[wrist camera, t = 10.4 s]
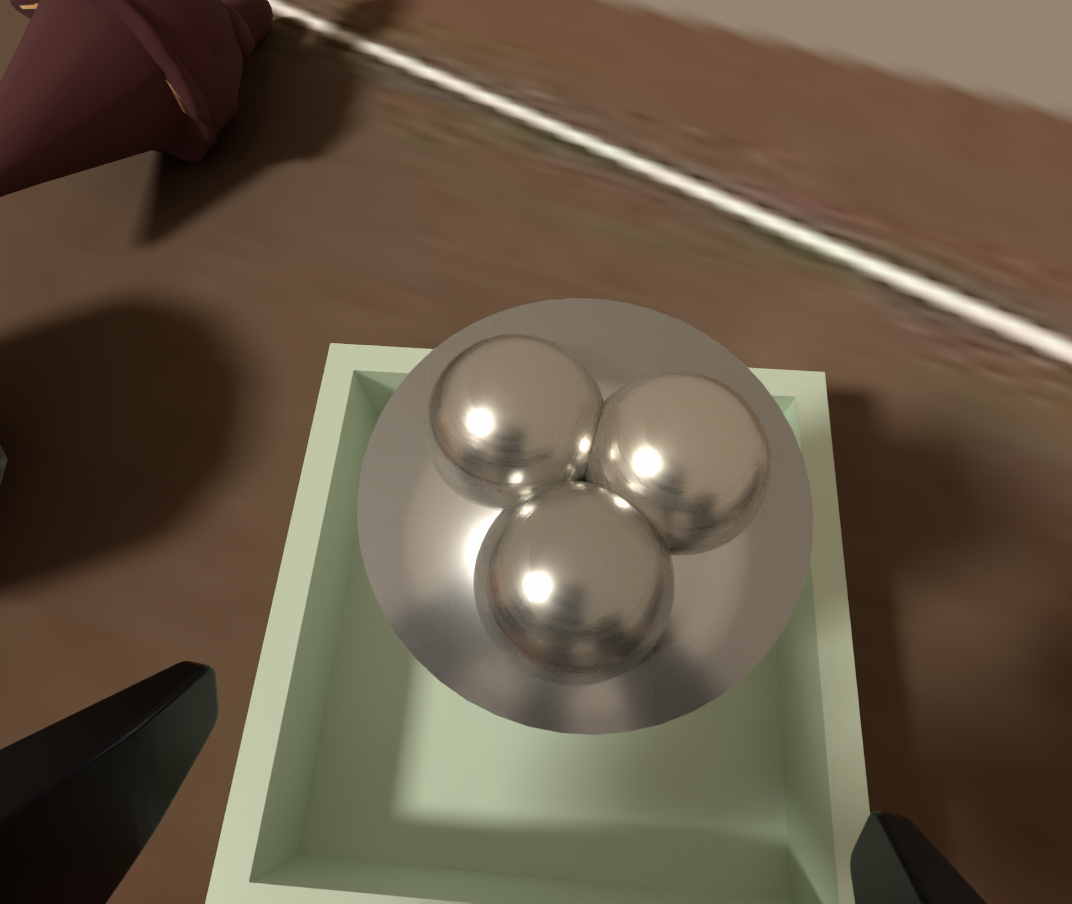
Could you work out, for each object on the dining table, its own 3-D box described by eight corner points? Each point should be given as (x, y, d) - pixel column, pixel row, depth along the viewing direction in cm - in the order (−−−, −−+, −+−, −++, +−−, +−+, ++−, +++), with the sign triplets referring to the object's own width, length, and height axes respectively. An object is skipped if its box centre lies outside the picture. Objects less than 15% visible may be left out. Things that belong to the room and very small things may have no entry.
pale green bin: (818, 935, 16) (888, 991, 13) (268, 883, 16) (200, 925, 13) (781, 425, 21) (824, 372, 18) (363, 399, 21) (330, 343, 18)
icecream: (9, 182, 17) (341, -82, 23) (-254, 26, 17) (155, -201, 23) (103, 320, 23) (344, 83, 29) (-85, 209, 23) (199, -7, 29)
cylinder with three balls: (667, 691, 17) (958, 637, 5) (494, 745, 17) (383, 822, 5) (610, 523, 19) (733, 199, 7) (451, 569, 19) (293, 302, 7)
